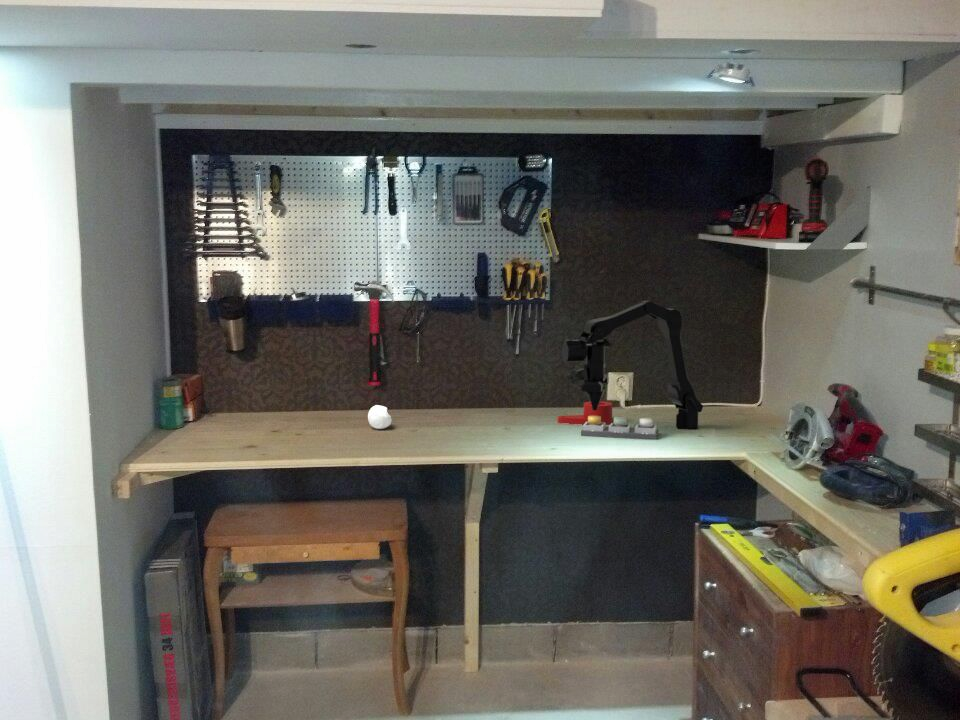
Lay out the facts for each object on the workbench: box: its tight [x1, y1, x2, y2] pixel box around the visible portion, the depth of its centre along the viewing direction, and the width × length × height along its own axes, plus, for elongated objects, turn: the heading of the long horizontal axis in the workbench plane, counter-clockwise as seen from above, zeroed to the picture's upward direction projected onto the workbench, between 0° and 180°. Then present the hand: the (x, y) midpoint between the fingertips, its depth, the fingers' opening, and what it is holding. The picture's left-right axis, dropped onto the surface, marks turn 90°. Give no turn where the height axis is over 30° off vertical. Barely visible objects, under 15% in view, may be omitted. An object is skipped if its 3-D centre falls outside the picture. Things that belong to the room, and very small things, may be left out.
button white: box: [638, 417, 654, 427], centre depth 289 cm, size 4×4×2 cm
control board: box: [580, 422, 659, 441], centre depth 291 cm, size 23×9×3 cm, turn 75°
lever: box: [557, 400, 613, 426], centre depth 310 cm, size 18×9×7 cm, turn 90°
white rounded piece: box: [367, 404, 392, 430], centre depth 300 cm, size 8×8×8 cm
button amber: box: [588, 416, 601, 424], centre depth 293 cm, size 4×4×2 cm
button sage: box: [613, 416, 628, 426], centre depth 291 cm, size 4×4×2 cm
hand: (594, 410), depth 292 cm, fingers closed
